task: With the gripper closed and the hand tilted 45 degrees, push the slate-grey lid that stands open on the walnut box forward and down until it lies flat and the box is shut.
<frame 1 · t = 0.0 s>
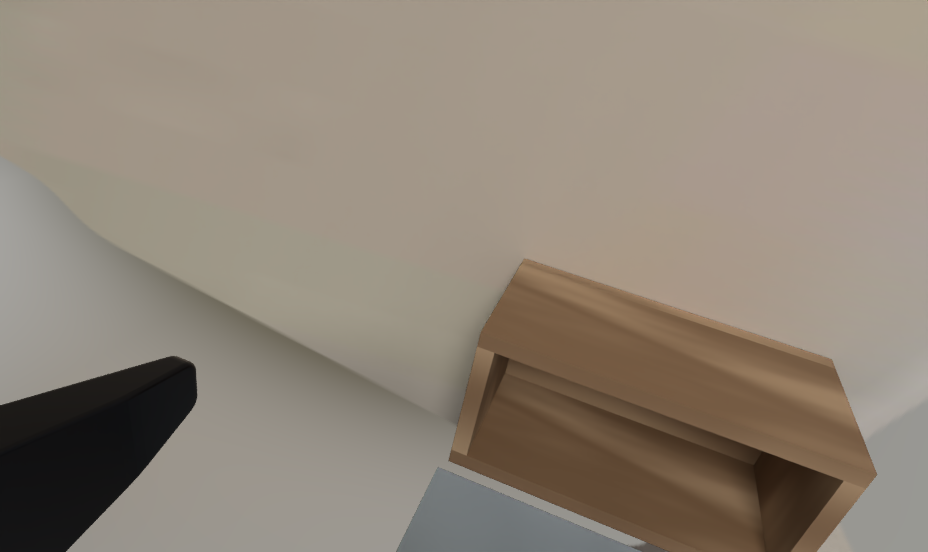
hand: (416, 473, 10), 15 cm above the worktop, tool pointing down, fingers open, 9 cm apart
walnut box: (644, 365, 24), on the worktop
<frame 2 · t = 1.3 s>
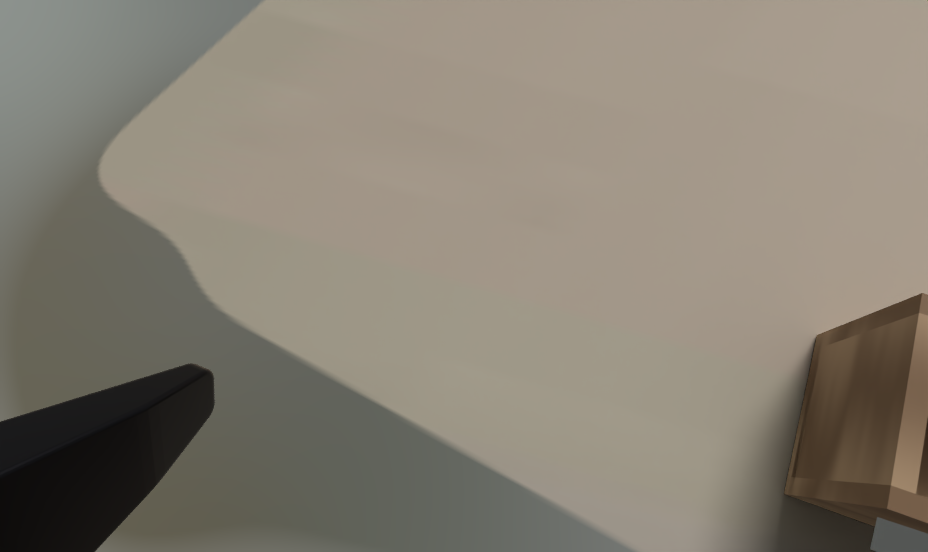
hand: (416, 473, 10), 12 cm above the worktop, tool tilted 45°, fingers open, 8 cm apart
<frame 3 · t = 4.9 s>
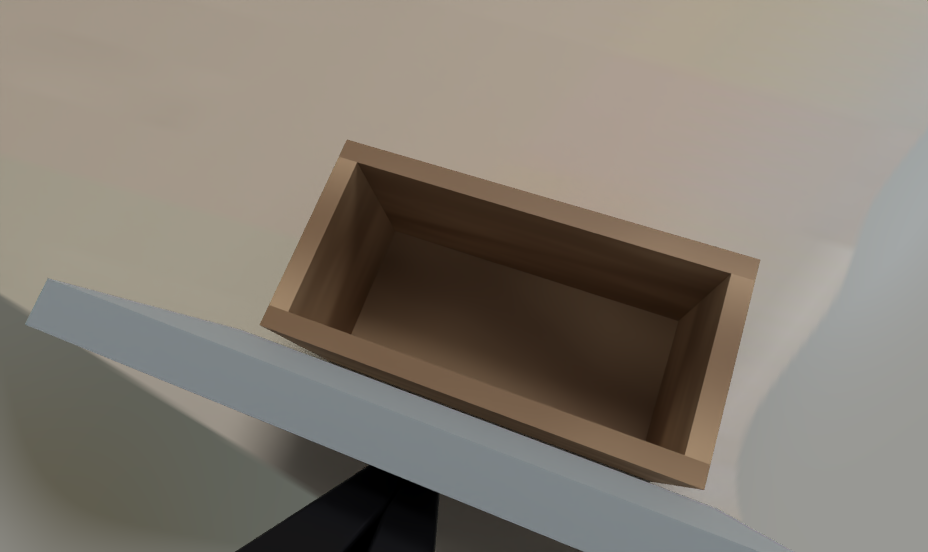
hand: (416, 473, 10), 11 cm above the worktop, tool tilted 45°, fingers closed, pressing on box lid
walnut box: (508, 338, 21), on the worktop
box lid: (430, 432, 11), point 9 cm above the worktop, hinge at 95.0°, touching gripper
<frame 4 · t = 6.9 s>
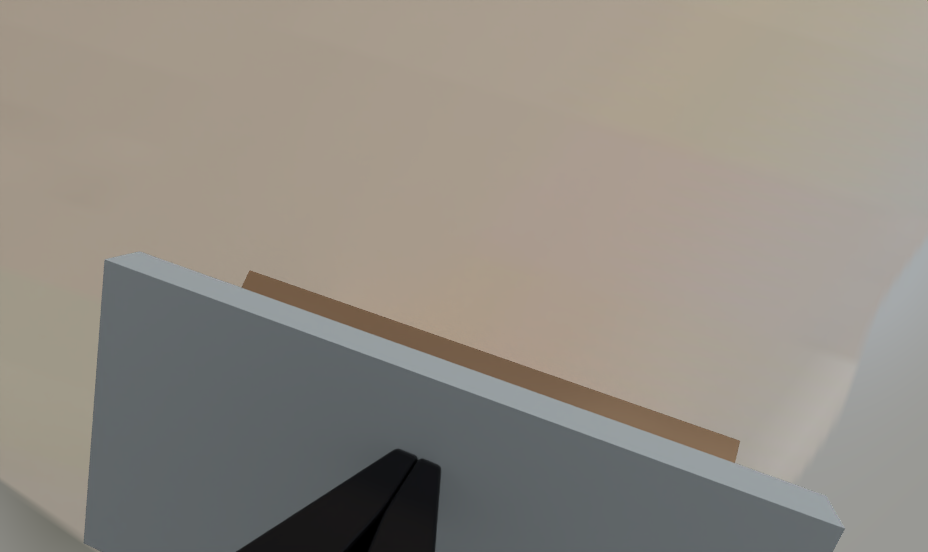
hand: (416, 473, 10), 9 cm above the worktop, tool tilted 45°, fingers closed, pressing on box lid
walnut box: (459, 466, 19), on the worktop
box lid: (394, 523, 11), point 8 cm above the worktop, hinge at 29.8°, touching gripper
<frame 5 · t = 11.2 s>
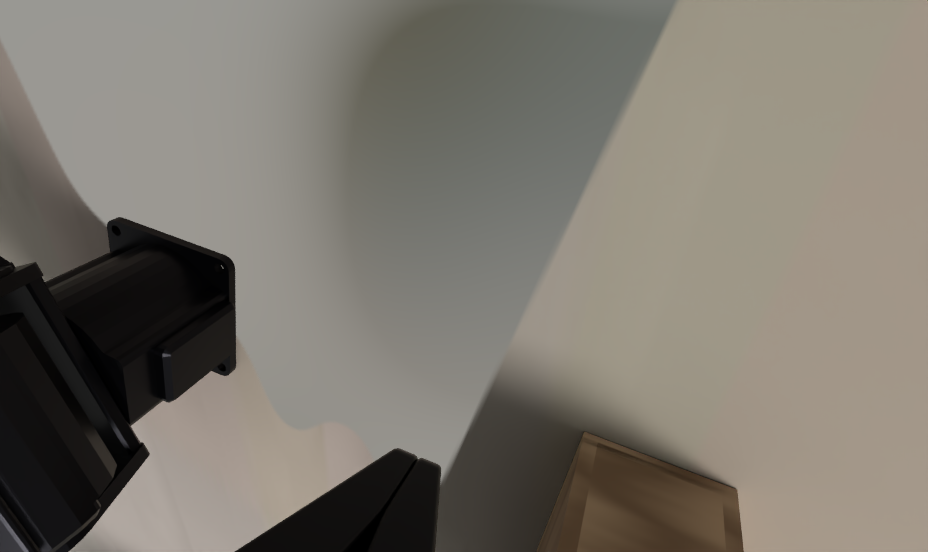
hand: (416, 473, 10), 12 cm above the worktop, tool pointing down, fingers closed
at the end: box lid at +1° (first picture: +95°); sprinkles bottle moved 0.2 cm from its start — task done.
